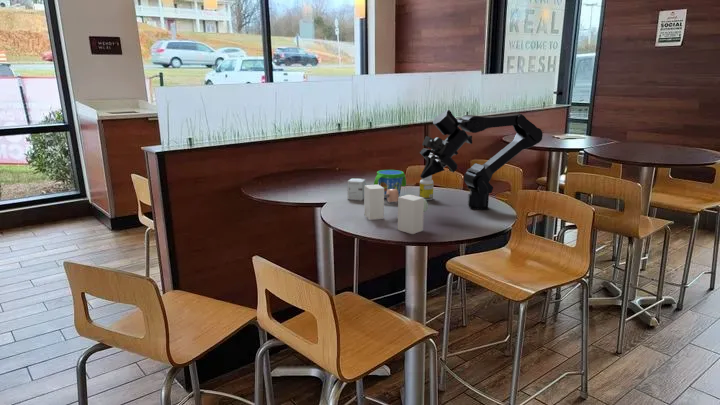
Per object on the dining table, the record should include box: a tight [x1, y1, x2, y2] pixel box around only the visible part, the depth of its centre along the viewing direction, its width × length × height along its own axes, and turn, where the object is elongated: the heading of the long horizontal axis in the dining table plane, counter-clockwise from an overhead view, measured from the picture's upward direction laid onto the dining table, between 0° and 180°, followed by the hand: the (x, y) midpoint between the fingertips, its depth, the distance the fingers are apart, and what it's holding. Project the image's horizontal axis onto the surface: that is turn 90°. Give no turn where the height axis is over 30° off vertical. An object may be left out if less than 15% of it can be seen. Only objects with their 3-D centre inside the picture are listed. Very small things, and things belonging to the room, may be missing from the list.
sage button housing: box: [397, 194, 425, 235], centre depth 150 cm, size 5×6×10 cm
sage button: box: [423, 199, 429, 213], centre depth 152 cm, size 6×4×4 cm
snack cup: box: [373, 169, 407, 200], centre depth 191 cm, size 16×10×10 cm
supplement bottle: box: [418, 175, 434, 201], centre depth 189 cm, size 5×5×10 cm
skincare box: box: [347, 178, 367, 201], centre depth 190 cm, size 6×6×7 cm
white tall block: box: [363, 183, 385, 221], centre depth 165 cm, size 5×6×10 cm
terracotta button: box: [384, 189, 400, 203], centre depth 166 cm, size 6×4×4 cm
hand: (421, 177), depth 167 cm, fingers closed
